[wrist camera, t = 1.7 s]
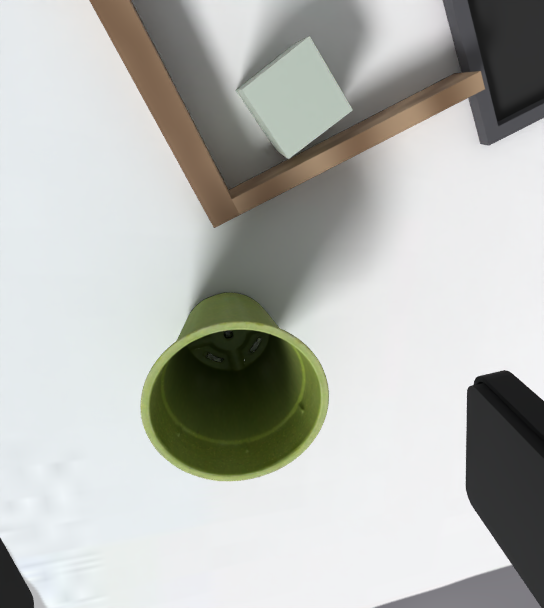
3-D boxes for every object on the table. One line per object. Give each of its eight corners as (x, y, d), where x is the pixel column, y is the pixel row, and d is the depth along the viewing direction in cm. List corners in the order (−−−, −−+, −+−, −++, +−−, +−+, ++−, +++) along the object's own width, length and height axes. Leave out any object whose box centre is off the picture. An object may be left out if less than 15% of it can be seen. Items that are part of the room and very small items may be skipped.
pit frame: (590, -88, 32) (603, -94, 31) (612, 77, 37) (625, 76, 36) (440, -9, 33) (448, -12, 32) (480, 143, 38) (489, 145, 36)
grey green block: (293, 44, 33) (309, 35, 28) (332, 108, 35) (352, 110, 30) (235, 90, 34) (241, 89, 29) (276, 150, 36) (288, 159, 31)
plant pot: (300, 262, 39) (337, 321, 29) (291, 387, 44) (320, 475, 34) (150, 262, 37) (134, 324, 27) (157, 392, 42) (145, 488, 32)
